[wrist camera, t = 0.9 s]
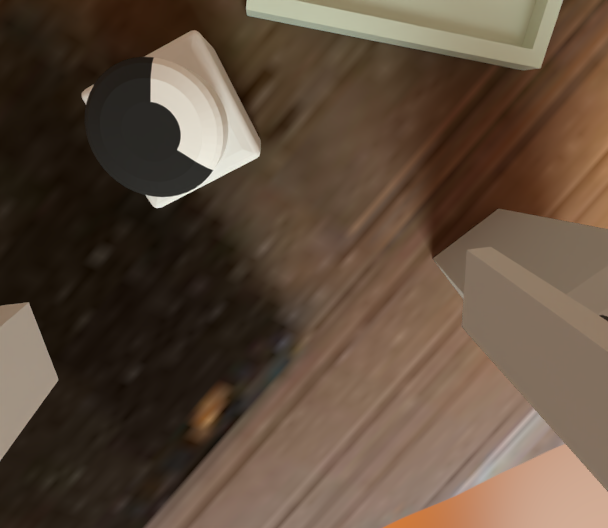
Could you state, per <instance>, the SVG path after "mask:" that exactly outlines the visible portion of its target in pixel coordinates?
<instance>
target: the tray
mask: <svg viewBox="0 0 608 528" xmlns="http://www.w3.org/2000/svg"><path fill="white" fill-rule="evenodd" d="M562 2H563V0H247V3H246V13H247V16H252V17H257V18H262V19H267V20H272V21H277V22H282V23H287V24H292V25H297V26H302V27H307V28H312V29H317V30H322V31H327V32H332V33H337V34H342V35H347V36H352V37H357V38H362V39H367V40H372V41H377V42H383V43H388V44H393V45H398V46H403V47H408V48H413V49H418V50H423V51H428V52H433V53H438V54H443V55H448V56H453V57H458V58H463V59H468V60H473V61H478V62H483V63H488V64H493V65H498V66H503V67H508V68H513V69H518V70H532V69H540V68H541V65H542V62H543V59H544V56H545V53H546V50H547V47H548V44H549V41H550V38H551V35H552V32H553V29H554V26H555V23H556V20H557V17H558V14H559V11H560V8H561V5H562Z"/></svg>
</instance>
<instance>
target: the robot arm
mask: <svg viewBox="0 0 608 528" xmlns="http://www.w3.org/2000/svg"><path fill="white" fill-rule="evenodd" d="M462 328H463V329H464V330H465V331H466V332H467V333H468V334H469V336H470V337H471V338H472V339H473V340H474V341H475V342H476V343H477V345H478V346H479V347H480V348H481V349H482V350H483V351H484V352H485V354H486V355H487V356H488V357H489V358H490V359H491V360H492V362H493V363H494V364H495V365H496V366H497V367H498V368H499V369H500V371H501V372H502V373H503V374H504V375H505V376H506V377H507V378H508V380H509V381H510V382H511V383H512V384H513V385H514V386H515V387H516V389H517V390H518V391H519V392H520V393H521V394H522V395H523V396H524V398H525V399H526V400H527V401H528V402H529V403H530V404H531V405H532V407H533V408H534V409H535V410H536V411H537V412H538V413H539V415H540V416H541V417H542V418H543V419H544V420H545V421H546V422H547V424H548V425H549V426H550V427H551V428H552V429H553V430H554V431H555V433H556V434H557V435H558V436H559V437H560V438H561V439H562V440H563V442H564V443H565V444H566V445H567V446H568V447H569V448H570V449H571V451H572V452H573V453H574V454H575V455H576V456H577V457H578V458H579V459H580V461H581V462H582V463H583V464H584V465H585V466H586V467H587V469H588V470H589V471H590V472H591V473H592V474H593V475H594V477H595V478H596V479H597V480H598V481H599V482H600V483H601V484H602V485H603V487H604V488H605V489H606V490H607V491H608V317H607V316H604V315H597V314H596V313H594V312H592V311H591V310H589V309H588V308H586V307H585V306H583V305H581V304H580V303H578V302H577V301H575V300H574V299H572V298H571V297H569V296H567V295H566V294H564V293H563V292H561V291H560V290H558V289H556V288H555V287H553V286H552V285H550V284H549V283H547V282H545V281H544V280H542V279H541V278H539V277H538V276H536V275H534V274H533V273H531V272H530V271H528V270H527V269H525V268H523V267H522V266H520V265H519V264H517V263H516V262H514V261H512V260H511V259H509V258H508V257H506V256H505V255H503V254H501V253H500V252H498V251H497V250H495V249H494V248H492V247H484V248H476V249H468V250H467V255H466V270H465V285H464V300H463V315H462ZM57 381H58V377H57V375H56V372H55V369H54V367H53V364H52V362H51V359H50V356H49V354H48V351H47V349H46V346H45V344H44V341H43V338H42V336H41V333H40V331H39V328H38V325H37V323H36V320H35V318H34V315H33V313H32V310H31V307H30V305H29V302H28V303H19V304H11V305H3V306H0V460H1V459H2V457H3V456H4V455H5V453H6V452H7V450H8V449H9V448H10V446H11V445H12V443H13V442H14V441H15V439H16V438H17V437H18V435H19V434H20V432H21V431H22V430H23V428H24V427H25V426H26V424H27V423H28V421H29V420H30V419H31V417H32V416H33V414H34V413H35V412H36V410H37V409H38V408H39V406H40V405H41V403H42V402H43V401H44V399H45V398H46V396H47V395H48V394H49V392H50V391H51V390H52V388H53V387H54V385H55V384H56V383H57Z"/></svg>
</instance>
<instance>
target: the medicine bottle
mask: <svg viewBox="0 0 608 528" xmlns="http://www.w3.org/2000/svg"><path fill="white" fill-rule="evenodd" d="M82 99H83V100H84V102H85V104H86V109H85V127H86V133H87V137H88V141H89V144H90V146H91V149H92V151H93V153H94V155H95V157H96V158H97V160H98V161H99V163H100V164H101V166H102V167H103V168H104V169H105V170H106V171H107V173H108V174H109V175H110V176H112V177H113V178H114V179H115V180H116V181H117V182H119V183H120V184H122V185H123V186H125V187H127V188H129V189H131V190H133V191H135V192H138V193H141V194H144V195H146V197H147V198H148V200H149V201H150V203H151V204H152V206H154V207H155V208H161V207H163V206H165V205H167V204H169V203H171V202H173V201H175V200H177V199H179V198H181V197H183V196H185V195H186V194H188V193H190V192H192V191H194V190H196V189H198V188H200V187H202V186H204V185H206V184H208V183H210V182H212V181H214V180H215V179H217V178H219V177H221V176H223V175H225V174H227V173H229V172H231V171H233V170H235V169H237V168H239V167H241V166H243V165H245V164H246V163H248V162H250V161H252V160H254V159H256V158H258V157H259V155H260V147H261V141H260V138H259V136H258V134H257V132H256V130H255V128H254V126H253V124H252V122H251V121H250V119H249V117H248V115H247V113H246V111H245V109H244V107H243V105H242V103H241V101H240V99H239V97H238V95H237V93H236V91H235V89H234V87H233V85H232V83H231V81H230V79H229V77H228V75H227V73H226V71H225V69H224V67H223V65H222V63H221V61H220V59H219V58H218V56H217V54H216V52H215V50H214V48H213V47H212V46H211V45H210V44H209V43H208V42H207V41H206V40H205V38H204V37H203V36H202V35H201V34H200V33H199V32H198V31H195V30H193V31H190V32H188V33H186V34H184V35H182V36H181V37H179V38H177V39H175V40H173V41H172V42H170V43H168V44H166V45H164V46H163V47H161V48H159V49H157V50H155V51H154V52H152V53H150V54H148V55H146V56H145V57H137V58H131V59H127V60H124V61H122V62H119V63H117V64H115V65H114V66H112V67H111V68H109V69H108V70H106V71H105V72H104V73H103V74H102V75H101V76H100V77H99V79H98V80H97V81H96V83H95V84H94V85H92V86H90V87H89V88H87V89H85V90H84V91H83V92H82Z"/></svg>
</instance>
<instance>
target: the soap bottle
mask: <svg viewBox="0 0 608 528" xmlns="http://www.w3.org/2000/svg"><path fill="white" fill-rule="evenodd" d="M484 247H492V248H494V249H495V250H497V251H498V252H500V253H501V254H503V255H505V256H506V257H508V258H509V259H511V260H512V261H514V262H516V263H517V264H519V265H520V266H522V267H523V268H525V269H527V270H528V271H530V272H531V273H533V274H534V275H536V276H538V277H539V278H541V279H542V280H544V281H545V282H547V283H549V284H550V285H552V286H553V287H555V288H556V289H558V290H560V291H561V292H563V293H564V294H566V295H567V296H569V297H571V298H572V299H574V300H575V301H577V302H578V303H580V304H581V305H583V306H585V307H586V308H588V309H589V310H591V311H592V312H594V313H596V314H597V315H604V316H607V317H608V229H604V228H599V227H593V226H588V225H583V224H578V223H572V222H567V221H562V220H557V219H551V218H546V217H541V216H535V215H530V214H525V213H520V212H514V211H509V210H504V209H497V210H496V211H495V212H493V213H492V214H491V215H489V216H488V217H487V218H485V219H484V220H483V221H482V222H480V223H479V224H478V225H476V226H475V227H474V228H472V229H471V230H470V231H468V232H467V233H466V234H464V235H463V236H462V237H460V238H459V239H458V240H456V241H455V242H454V243H452V244H451V245H450V246H449V247H447V248H446V249H445V250H443V251H442V252H441V253H439V254H438V255H437V256H435V257H434V258H433V260H434V261H435V262H436V264H437V265H438V266H439V268H440V269H441V270H442V272H443V273H444V274H445V276H446V277H447V278H448V280H449V281H450V282H451V284H452V285H453V286H454V288H455V289H456V290H457V292H458V293H459V294H460V295H461V297H462V298H463V299H464V285H465V270H466V255H467V250H468V249H476V248H484Z"/></svg>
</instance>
